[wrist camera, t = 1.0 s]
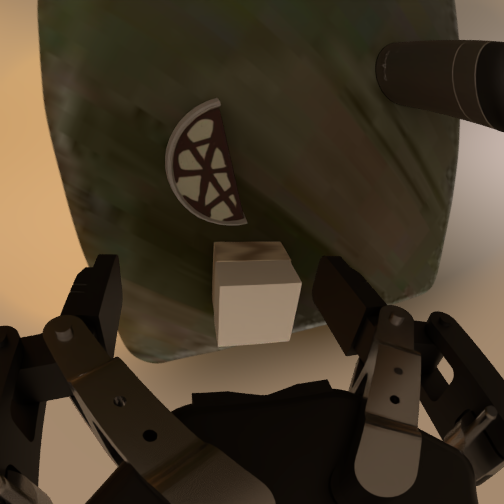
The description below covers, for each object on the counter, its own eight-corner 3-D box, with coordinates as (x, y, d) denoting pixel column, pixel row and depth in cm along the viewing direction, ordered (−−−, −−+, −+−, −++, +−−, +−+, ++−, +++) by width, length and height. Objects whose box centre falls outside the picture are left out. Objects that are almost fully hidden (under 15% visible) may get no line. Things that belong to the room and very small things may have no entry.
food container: (158, 110, 31) (146, 117, 23) (211, 96, 32) (219, 98, 23) (185, 207, 38) (185, 245, 29) (233, 194, 38) (248, 228, 30)
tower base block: (280, 241, 43) (290, 259, 39) (271, 294, 47) (280, 315, 43) (213, 241, 41) (217, 261, 37) (211, 296, 45) (215, 319, 41)
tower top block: (288, 259, 39) (301, 282, 34) (279, 316, 43) (289, 341, 39) (215, 261, 37) (219, 286, 33) (214, 319, 41) (218, 346, 37)
